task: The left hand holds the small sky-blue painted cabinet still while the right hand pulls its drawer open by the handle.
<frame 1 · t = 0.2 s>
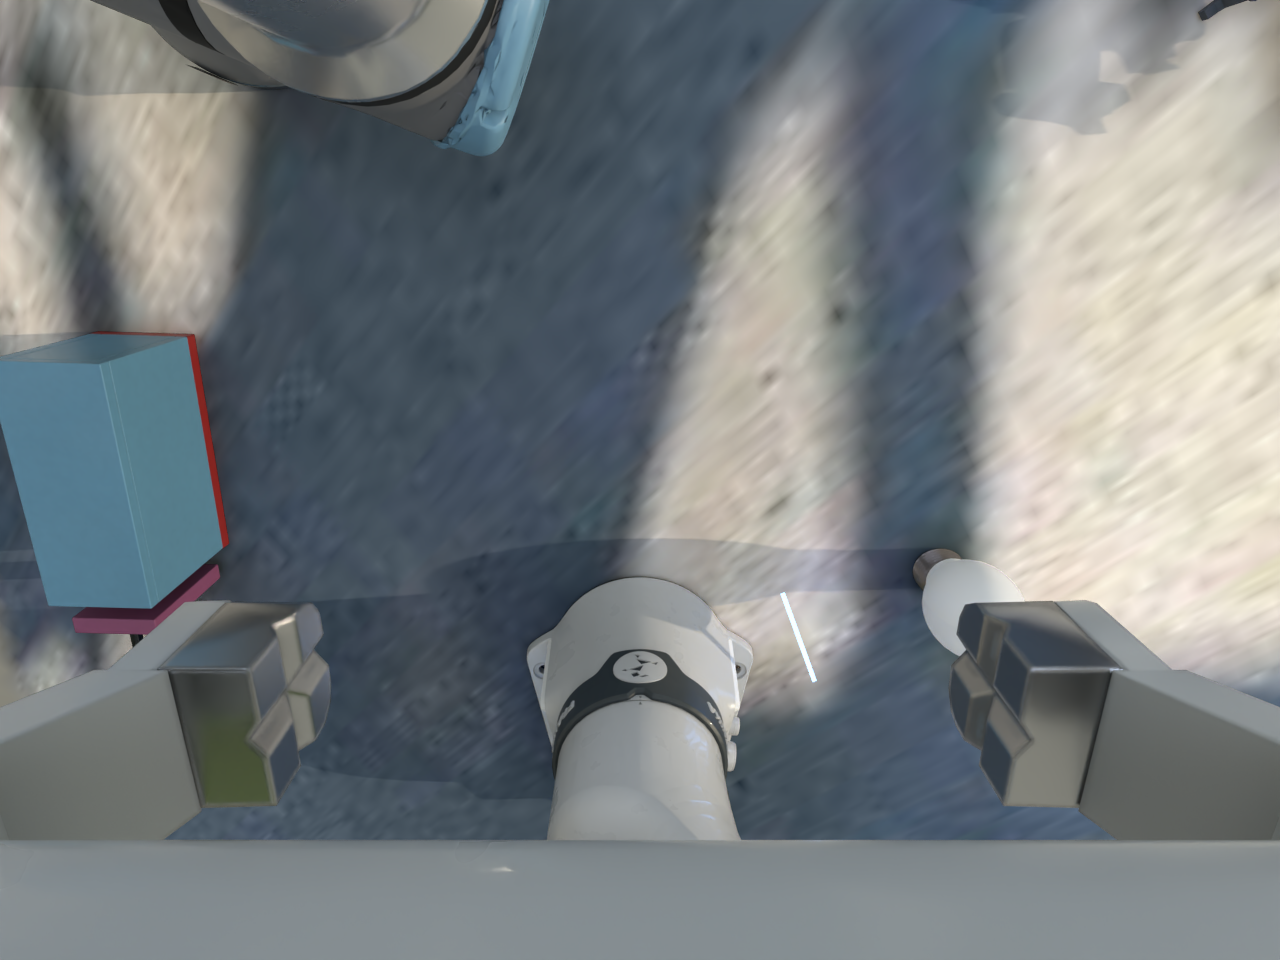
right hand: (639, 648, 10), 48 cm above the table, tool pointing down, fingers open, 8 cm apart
cabinet: (166, 442, 59), on the table
drawer: (140, 544, 56), point 5 cm above the table, slide at 1.4 cm
light bulb: (938, 566, 63), on the table
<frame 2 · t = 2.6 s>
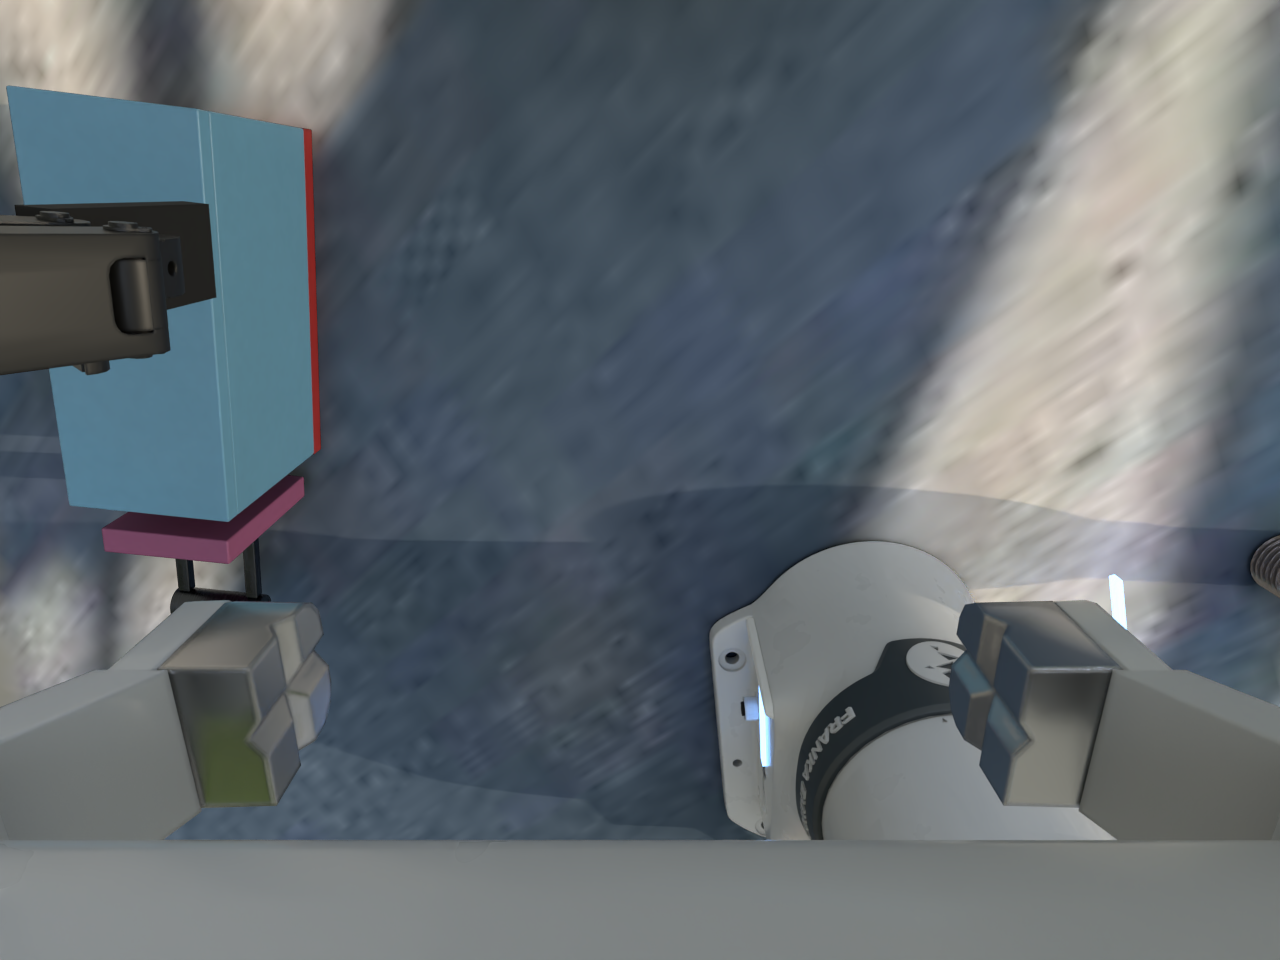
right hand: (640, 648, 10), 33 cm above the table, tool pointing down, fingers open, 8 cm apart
cabinet: (250, 292, 41), on the table
drawer: (207, 432, 38), point 5 cm above the table, slide at 1.4 cm
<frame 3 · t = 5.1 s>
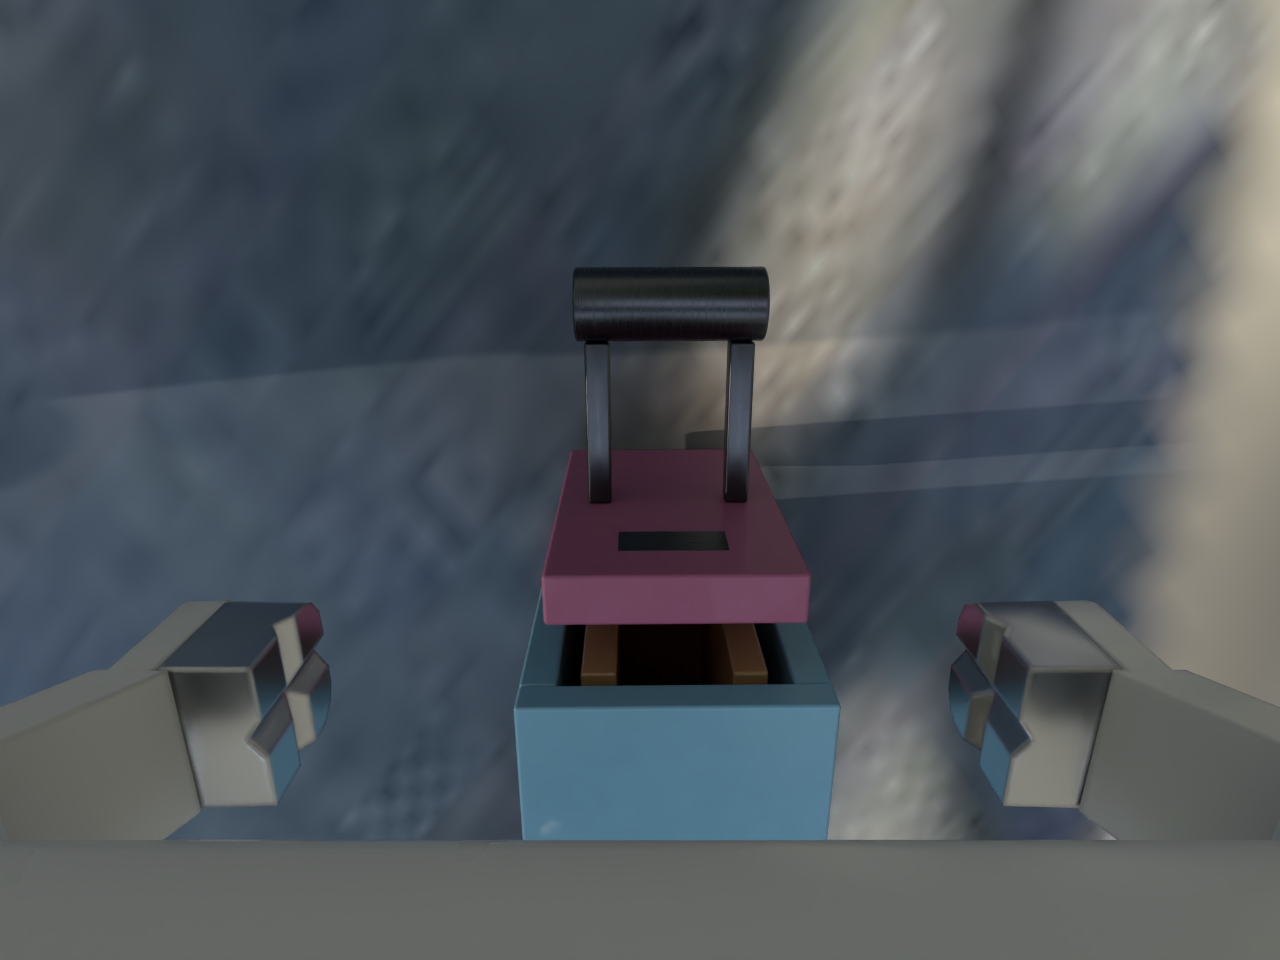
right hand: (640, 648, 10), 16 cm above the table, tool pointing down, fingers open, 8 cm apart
cabinet: (658, 720, 29), on the table, touching left hand
drawer: (666, 657, 22), point 5 cm above the table, slide at 1.4 cm
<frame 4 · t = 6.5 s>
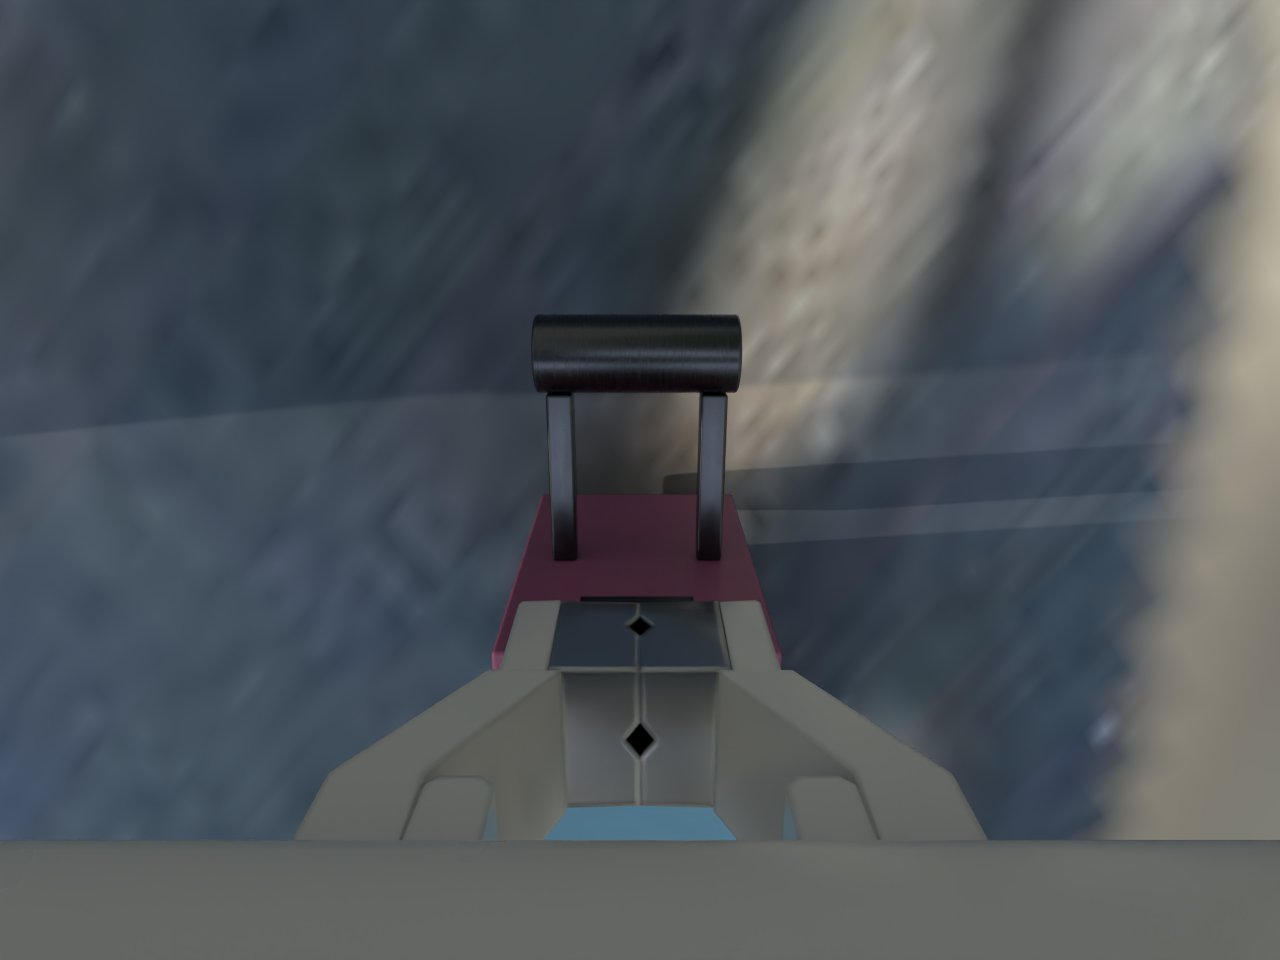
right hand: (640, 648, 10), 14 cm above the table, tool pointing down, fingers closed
cabinet: (636, 768, 28), on the table, touching left hand
drawer: (636, 718, 21), point 5 cm above the table, slide at 1.4 cm
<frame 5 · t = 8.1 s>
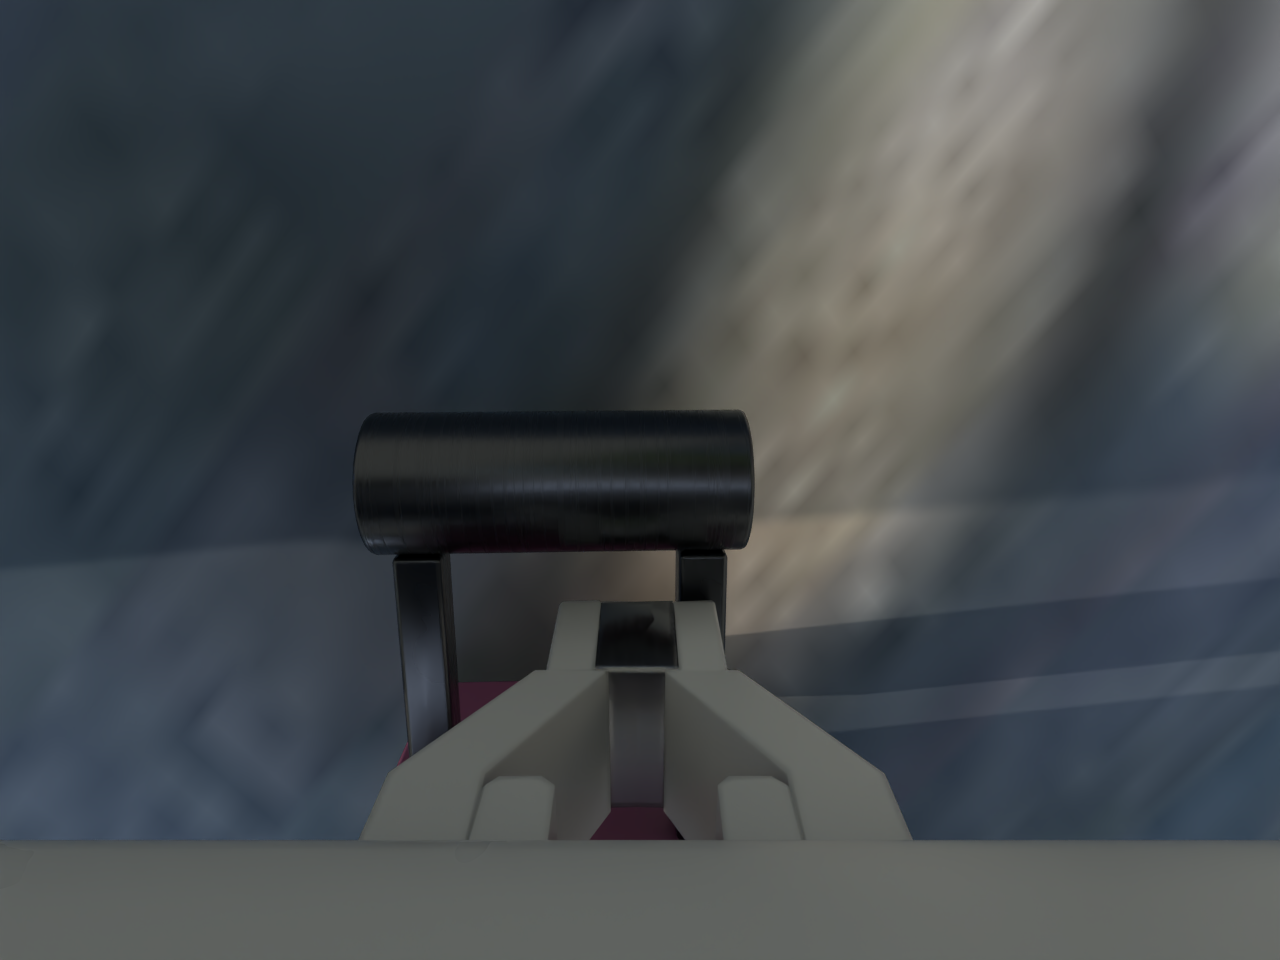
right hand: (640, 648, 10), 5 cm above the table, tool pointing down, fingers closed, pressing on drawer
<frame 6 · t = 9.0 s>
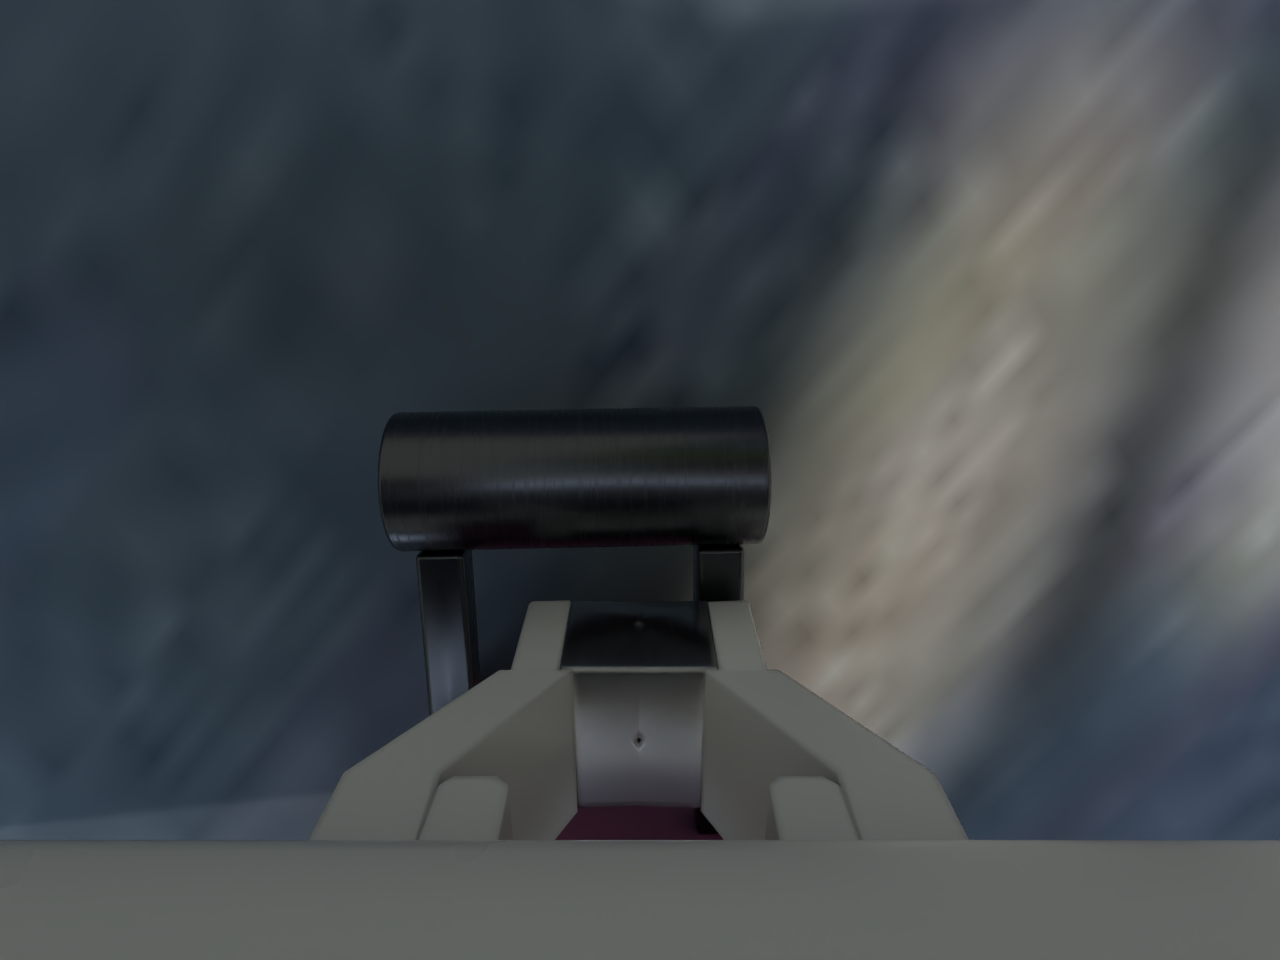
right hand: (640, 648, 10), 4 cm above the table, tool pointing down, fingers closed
when the left hand's fingers open (5 cm above the table, at t = 10.7 s): cabinet stays where it is, on the table.
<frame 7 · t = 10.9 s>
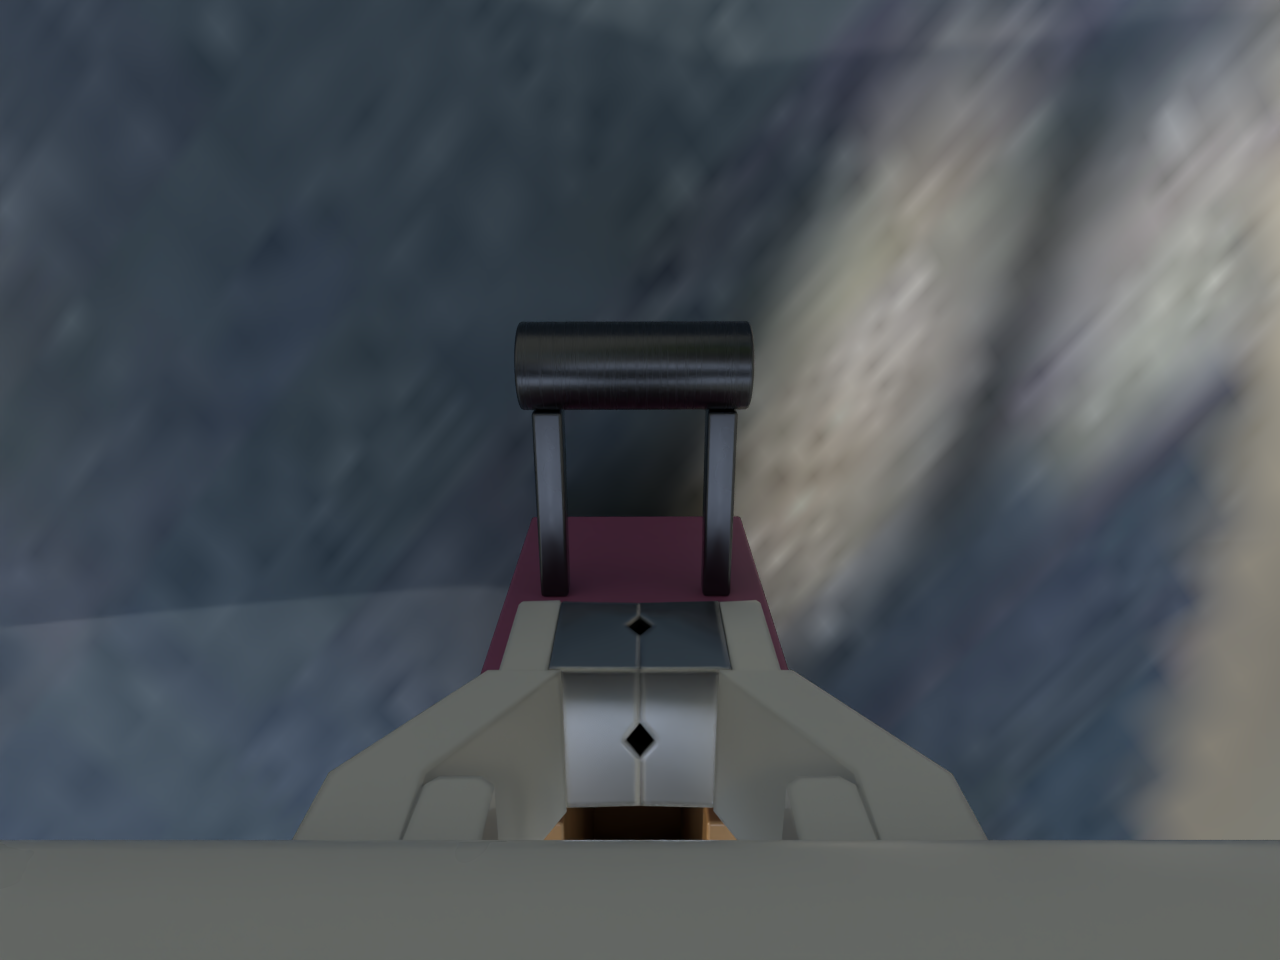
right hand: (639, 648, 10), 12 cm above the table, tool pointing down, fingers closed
drawer: (636, 768, 19), point 5 cm above the table, slide at 7.1 cm
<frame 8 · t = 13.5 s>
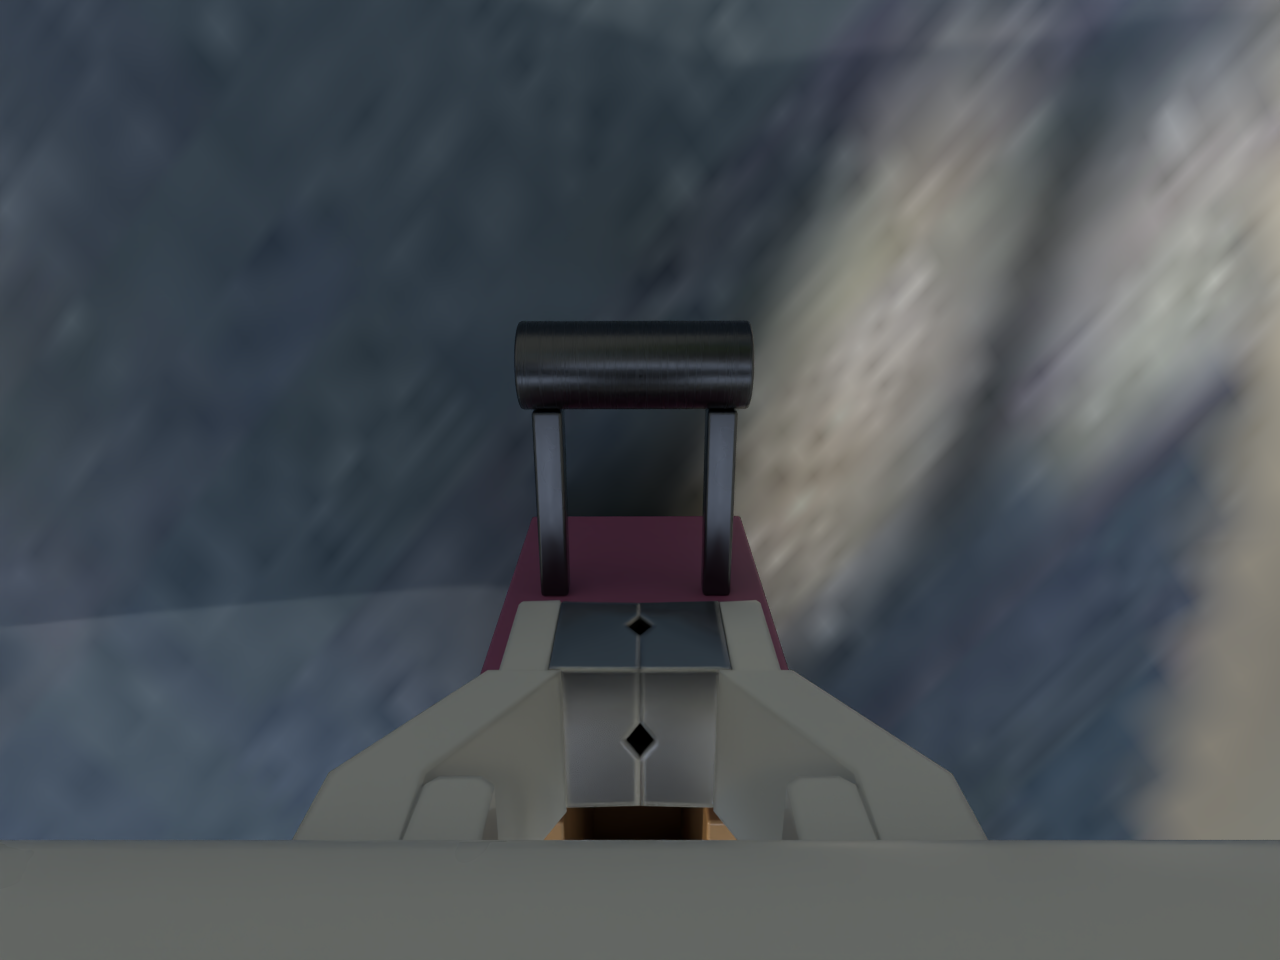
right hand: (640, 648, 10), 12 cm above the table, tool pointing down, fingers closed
drawer: (636, 767, 19), point 5 cm above the table, slide at 7.1 cm
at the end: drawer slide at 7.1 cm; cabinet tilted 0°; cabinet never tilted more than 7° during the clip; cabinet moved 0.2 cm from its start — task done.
